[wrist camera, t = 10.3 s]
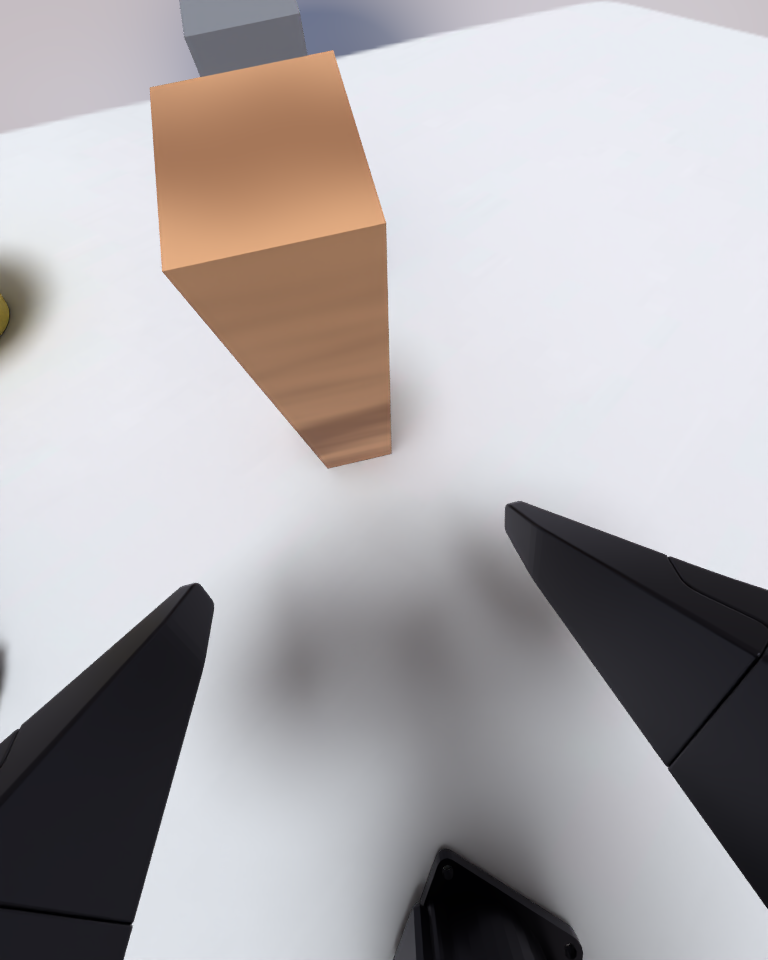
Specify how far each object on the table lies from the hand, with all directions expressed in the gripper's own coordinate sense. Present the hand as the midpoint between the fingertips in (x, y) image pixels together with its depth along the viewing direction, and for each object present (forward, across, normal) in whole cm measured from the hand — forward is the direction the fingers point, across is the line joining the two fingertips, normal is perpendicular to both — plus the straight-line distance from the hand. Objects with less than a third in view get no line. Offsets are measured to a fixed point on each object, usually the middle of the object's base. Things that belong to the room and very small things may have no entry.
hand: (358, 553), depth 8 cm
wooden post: (+12, 0, 0) cm, 12 cm away
